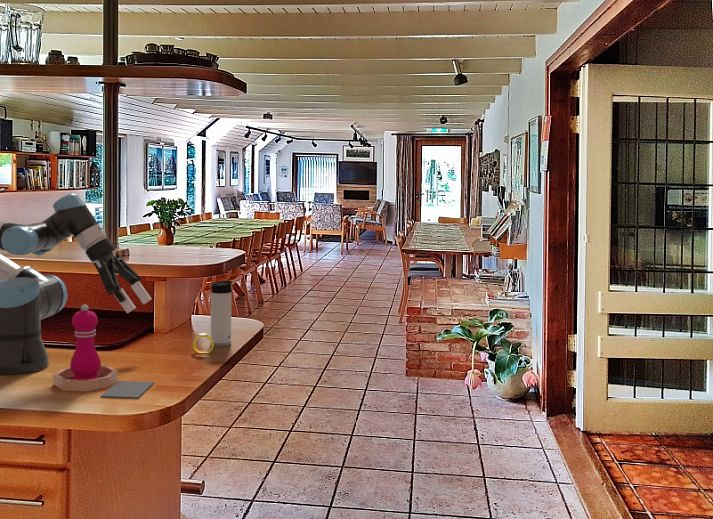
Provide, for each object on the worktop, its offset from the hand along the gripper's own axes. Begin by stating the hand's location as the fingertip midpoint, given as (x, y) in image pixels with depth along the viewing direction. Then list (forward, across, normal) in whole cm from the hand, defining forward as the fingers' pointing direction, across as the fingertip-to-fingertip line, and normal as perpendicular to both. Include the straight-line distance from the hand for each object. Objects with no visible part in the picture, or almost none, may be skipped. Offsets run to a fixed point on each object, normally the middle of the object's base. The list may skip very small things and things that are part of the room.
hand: (139, 306), depth 199 cm
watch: (+22, +8, -4) cm, 24 cm away
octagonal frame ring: (+9, -24, +14) cm, 29 cm away
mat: (+16, -29, +3) cm, 34 cm away
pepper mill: (+9, -24, +14) cm, 29 cm away
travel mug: (+24, +19, -7) cm, 31 cm away
